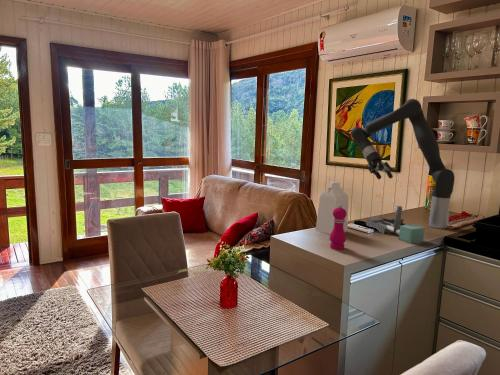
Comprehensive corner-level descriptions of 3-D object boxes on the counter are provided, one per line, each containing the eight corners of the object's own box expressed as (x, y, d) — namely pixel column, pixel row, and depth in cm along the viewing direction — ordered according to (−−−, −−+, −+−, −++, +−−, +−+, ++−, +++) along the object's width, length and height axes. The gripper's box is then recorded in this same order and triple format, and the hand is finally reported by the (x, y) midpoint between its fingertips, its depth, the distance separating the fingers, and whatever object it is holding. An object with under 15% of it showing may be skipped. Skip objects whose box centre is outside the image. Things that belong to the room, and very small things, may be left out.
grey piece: (388, 229, 194) (390, 203, 192) (416, 239, 179) (419, 211, 176) (383, 230, 193) (386, 204, 191) (412, 239, 177) (415, 211, 175)
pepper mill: (326, 245, 169) (329, 202, 165) (342, 245, 169) (345, 202, 166) (331, 250, 161) (334, 206, 158) (347, 250, 162) (351, 206, 159)
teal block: (411, 237, 185) (413, 224, 184) (423, 241, 179) (424, 227, 177) (398, 239, 181) (400, 225, 180) (410, 243, 175) (411, 229, 173)
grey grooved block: (377, 226, 205) (377, 217, 204) (395, 232, 193) (396, 222, 192) (366, 227, 201) (366, 218, 200) (384, 233, 190) (385, 224, 189)
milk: (329, 226, 200) (332, 179, 196) (347, 231, 192) (351, 182, 188) (315, 230, 193) (318, 181, 188) (333, 235, 184) (337, 184, 180)
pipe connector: (388, 214, 211) (412, 220, 199) (388, 223, 212) (411, 230, 200) (376, 217, 205) (399, 223, 193) (375, 226, 206) (399, 233, 194)
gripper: (366, 151, 201) (380, 174, 193) (384, 150, 207) (399, 173, 199) (358, 160, 207) (372, 183, 198) (377, 159, 213) (391, 181, 205)
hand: (385, 178), depth 199 cm, fingers open, 8 cm apart
